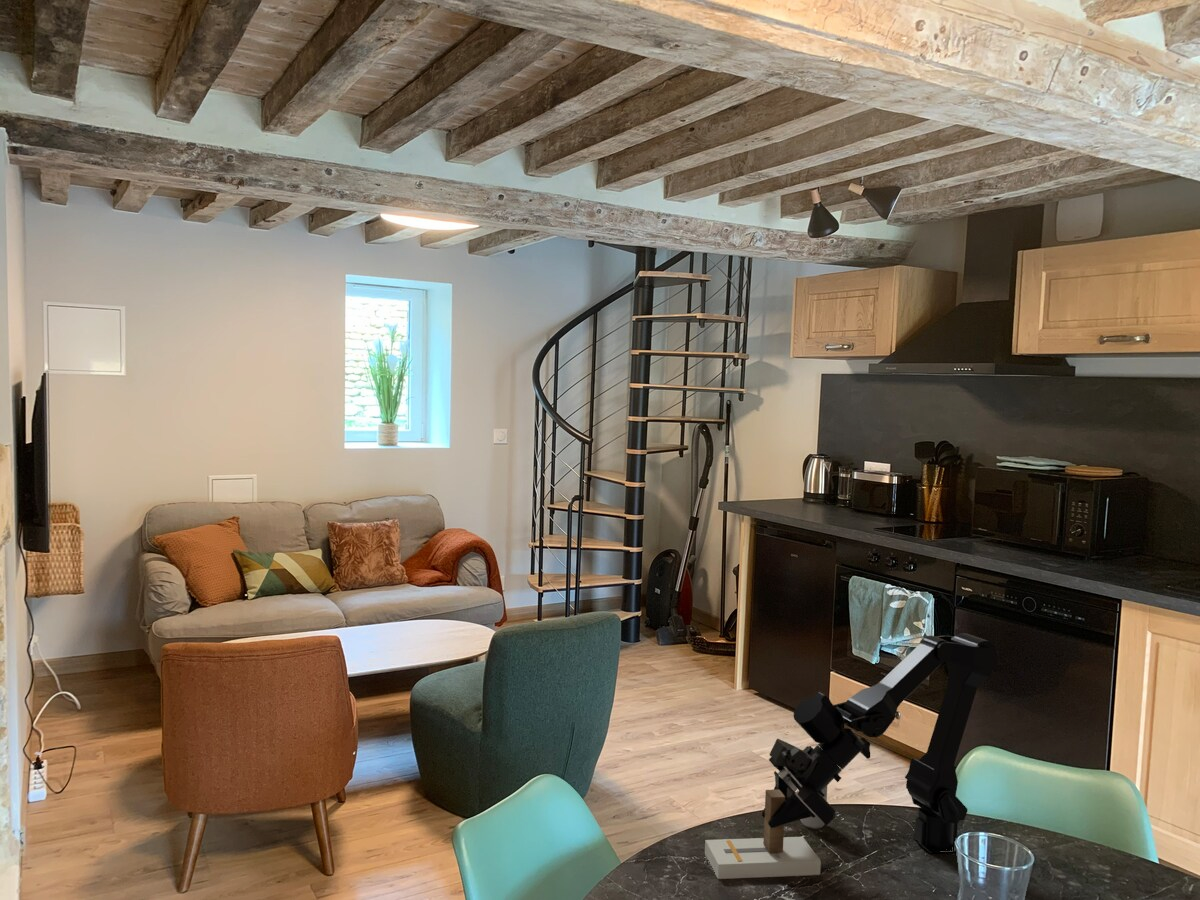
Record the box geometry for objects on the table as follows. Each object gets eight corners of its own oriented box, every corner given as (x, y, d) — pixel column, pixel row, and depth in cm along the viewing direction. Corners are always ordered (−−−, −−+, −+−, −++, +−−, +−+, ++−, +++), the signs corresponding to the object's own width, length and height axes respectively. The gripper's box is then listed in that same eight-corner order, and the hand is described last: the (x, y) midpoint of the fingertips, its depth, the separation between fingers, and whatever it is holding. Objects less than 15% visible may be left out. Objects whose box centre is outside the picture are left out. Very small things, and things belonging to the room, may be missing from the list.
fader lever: (777, 843, 158) (779, 789, 158) (782, 851, 155) (785, 796, 155) (763, 844, 158) (765, 789, 157) (768, 852, 155) (771, 797, 154)
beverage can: (823, 819, 175) (826, 758, 174) (827, 830, 170) (830, 768, 169) (798, 817, 175) (801, 756, 175) (801, 828, 170) (804, 766, 170)
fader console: (801, 850, 162) (802, 835, 162) (820, 874, 153) (820, 859, 153) (704, 853, 159) (705, 839, 159) (717, 879, 151) (718, 863, 150)
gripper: (781, 708, 165) (721, 768, 164) (820, 746, 147) (752, 814, 146) (820, 749, 167) (760, 809, 166) (863, 792, 148) (797, 859, 147)
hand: (766, 821), depth 156 cm, fingers closed on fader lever, 3 cm apart
